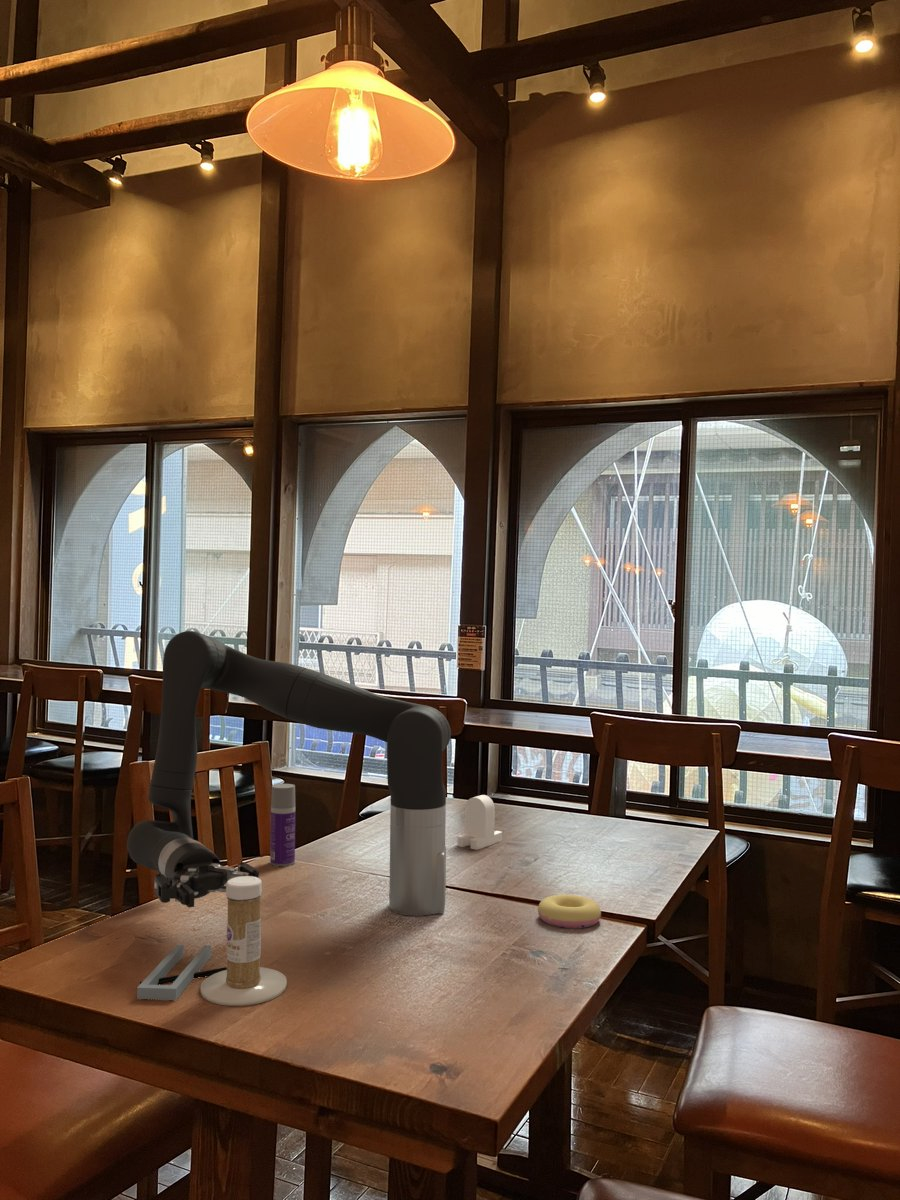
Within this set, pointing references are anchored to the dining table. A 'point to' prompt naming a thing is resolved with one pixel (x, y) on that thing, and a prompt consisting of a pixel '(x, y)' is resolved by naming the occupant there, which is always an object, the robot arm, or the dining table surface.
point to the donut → (569, 911)
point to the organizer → (479, 824)
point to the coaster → (243, 989)
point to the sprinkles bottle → (243, 931)
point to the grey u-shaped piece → (168, 992)
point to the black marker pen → (196, 975)
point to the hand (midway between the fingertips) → (222, 895)
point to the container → (282, 825)
